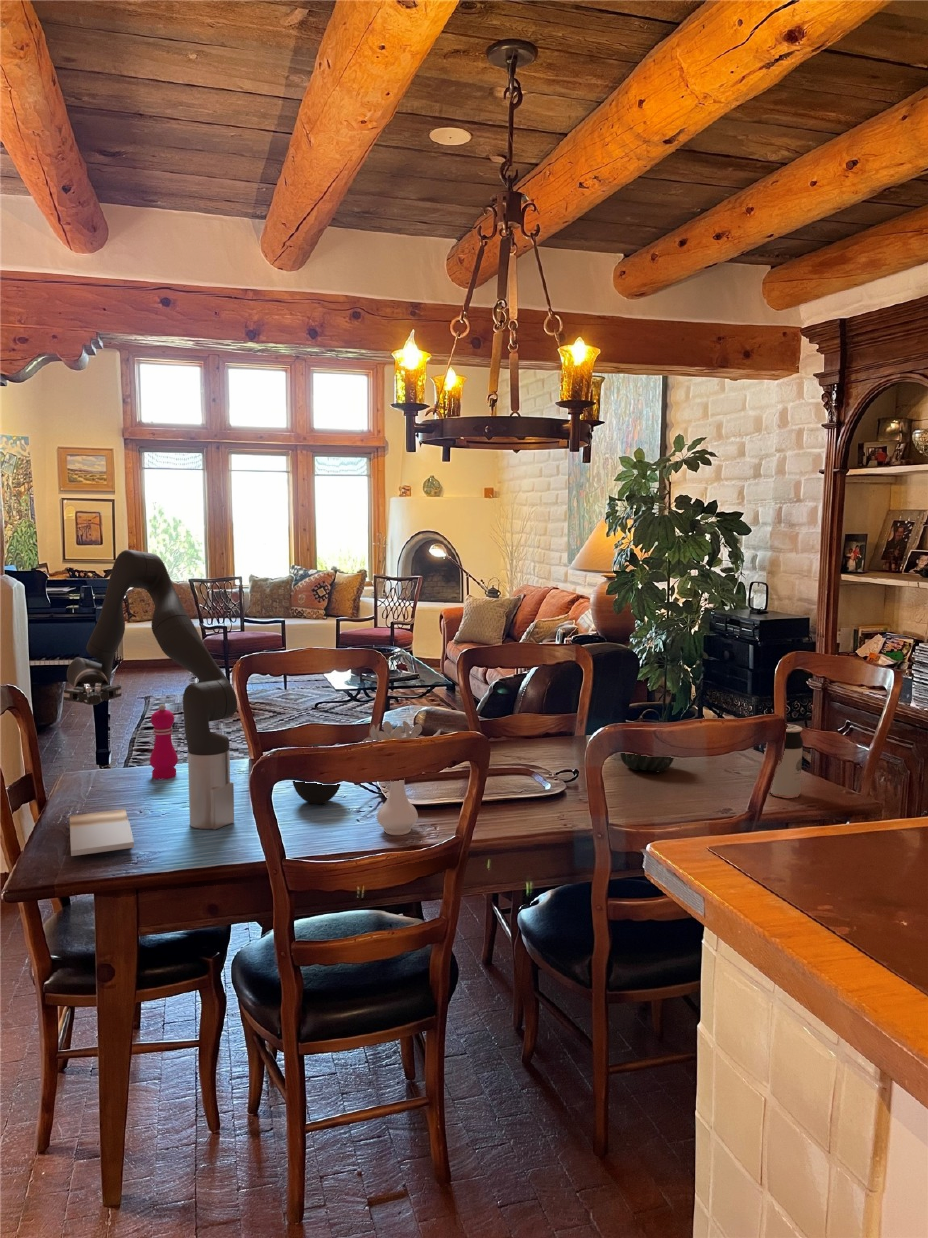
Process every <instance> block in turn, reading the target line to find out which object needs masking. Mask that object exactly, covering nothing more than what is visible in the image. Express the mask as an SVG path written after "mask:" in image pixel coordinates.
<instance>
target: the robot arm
mask: <svg viewBox="0 0 928 1238" xmlns="http://www.w3.org/2000/svg"><path fill="white" fill-rule="evenodd" d="M171 579H172V578H171V576H170V574H169V572H168V570H167V567H166V565H165V563H164V561H163V560H162V559H161V557H160V556H159V555H157V554H154V553H152V552H148V551H147V552H146V551H139V550H133V549H124V550H122V551H121V552H120V553H119V554H118V555H117V556H116V558H115V560H114V562H113V565H112V568H111V572H110V575H109V580H108V583H107V586H106V591H105V594H104V599H103V602H102V607H101V610H100V612H99V613H100V614H99V617H98V620H97V622H96V624H95V627H94V629H93V631H92V632H91V634H90V635H91V636H90V638H89V639H88V641H87V645H86V651H87V653H88V654H89V655H90V656H91V657H93V658H95V659H96V660H98V662H97V661H94V660H90V659H86V658H83V657H78V658H75V659H74V660H72V661H71V662H70V663H69V665H68V667H67V670H66V680H67V681H68V683H69V684H70V685H71V686H73V688H64V689H63V691H62V692H63V701H67V702H74V703H75V702H76V703H82V704H85V705H88V706H95V705H98V704H101V703H102V702H104V701H105V702H108V701H110V700H113V699H116V698H119V697H122V696H123V695H122V692H123V691H122V685H120V684H117V685H114V686H113V685H111V684H110V683H111V681H112V674H113V673H112V672H113V664H114V663H113V662H114V658H115V655H116V653H117V651H118V648H119V647H120V644H121V642H122V640H123V637H124V634H125V631H126V621H125V620H126V619H125V615H124V610H123V609H124V608H123V607H124V606H123V602H124V598H125V596H126V594H127V593H128V590H129V589H130V588H132V589H133V588H134V589H139V590H140V589H142V590H145V591H146V592H147V593H148V595H149V596H150V598H151V600H152V602H153V604H154V608H153V609H154V610H153V613H152V618H151V631H152V634H153V636H154V637H155V639H156V641H157V644H158V645H159V647H160V649H161V650H162V652H163V653H164V654H165V655H166V656H167V657H168V658H169V659H170V660H172V661H173V662H174V663H176V664H177V665H179V666H181V667H182V668H184V669H185V670H187V671H189V672H190V673H191V674H193V676H195V678H196V679H198V681H199V682H194V683H190V684H188V685H187V686H186V687H185V689H184V690H183V691H184V692H183V695H182V711H183V721H184V734H185V740H186V744H187V759H188V760H187V761H188V762H187V763H188V764H187V766H188V767H187V769H188V771H187V773H188V807H189V810H188V811H189V825H190V826H191V827H192V828H195V829H201V830H218V829H220V828H223V827H225V826H227V825H230V824H233V823H235V797H234V796H235V795H234V794H235V793H234V790H235V787H234V785H235V784H234V783H233V782H232V781H231V762H230V761H231V759H230V757H231V756H230V755H231V754H230V753H231V752H230V749H231V748H230V739H229V737H228V736H227V735H225V734H222V733H217V732H212V731H211V730H210V725H209V724H210V722H215V721H221V720H225V719H229V718H231V717H233V716H234V715H235V714H236V712H237V710H238V698H237V694H236V692H235V689H234V688H233V686H232V684H231V682H230V681H229V680H228V678H227V676H226V674H225V673H224V672H223V671H222V669H221V668H220V666H219V665H218V664H217V662H216V661H215V660H214V658H213V657H212V655H211V653H210V651H209V650H208V648H207V646H206V645H205V643H204V642H203V639H202V638H201V636H200V634H199V632H198V630H197V628H196V626H195V625H194V622H193V621H192V619H191V618H190V615H189V614H188V613H187V611H186V609H185V606H184V605H183V603H182V600H181V599H180V597H179V594H177V591H176V589H175V587H174V584H173V581H172V580H171Z"/></svg>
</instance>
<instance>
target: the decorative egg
mask: <svg viewBox="0 0 928 1238" xmlns="http://www.w3.org/2000/svg"><path fill="white" fill-rule="evenodd" d="M308 746H326V745H325V744H321V743H313V744H309V745H308ZM292 785H293V787H294V791H295V792H296V793H297V795H298V796H299V797H300V798H301V799H302V800H304V801H305V802H306V803H309V804H311V805H312V804H313V805H321V804H324V803H326V802H329V801H331V800H332V799H333V798H334V797H335V796H336V794H338V791H339V789H340V788H341V785H342V783H341V784H337V785H322V784H317V783H305V782H295V781H292Z"/></svg>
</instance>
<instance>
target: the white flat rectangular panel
mask: <svg viewBox="0 0 928 1238" xmlns="http://www.w3.org/2000/svg"><path fill="white" fill-rule="evenodd" d="M131 827H132V826H131V823H130V820H128V821H122V822H114V823H106V824H98V825H90V826H82V827H74V828H70V827H69V835H70V836H69V839H70V856H71V857H74V856H81V855H88V854H89V855H90V854H97V853H104V852H111V851H119V850H127V849H133V848H135V842H134V841H135V840H134V836H133V833H132V828H131Z"/></svg>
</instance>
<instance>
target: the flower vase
mask: <svg viewBox="0 0 928 1238" xmlns="http://www.w3.org/2000/svg"><path fill="white" fill-rule="evenodd" d="M380 724H381V723H378V724H377V726H375V724H372V726H371V728H370V730H369V736H367V737H366V738H364V739H363V740H362V741H361V743H362V742H366V741H373V740H379V741H380V740H389V739H402V740H403V739H404V740H405V739H408V738H416V737H426V736H424V735H420V734H421V732H422V731H423V727H422V725H421V724H420V723H418V724H414V726H413V727H411V726H410V723H409V722H407V721H406V720H403V721H402V726H401V725H400V726H397V727H395V728H394V729H393V726H392V723H391V722H390V721H389V720H385V721H384V722H383V724H382V725H383V726H382V728H383V729H382V730H383V731H382V730H380ZM441 732H442V731H441V729H438V730H437V732H436V733H435V734H433V736H438V735H439V736H441ZM433 736H432V737H433ZM361 743H360V744H361ZM406 793H407V792H406V787H405V779H404V780H399V781H394V782H391V781H390V786H389V794H388V797H386V798H387V799H386V800H385V802H384V803H383V805H381V806H380V807H379V809H378V811H377V813H376V819H377V822H378V824H379V825H380V826H381V827H382V828H383V832H384V831H385V832H386V833H385V832H384V833H385V834H388V835H391V836H402V835H407V834H409V833H410V832H411V830H412V827H414V826H415V824H416V823H417V821H418V820H419V815H418V811H417V809H416V807H415V806H414V805H413V804H412V803H411V802H410V801H409V798H408V797H407V794H406Z"/></svg>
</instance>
